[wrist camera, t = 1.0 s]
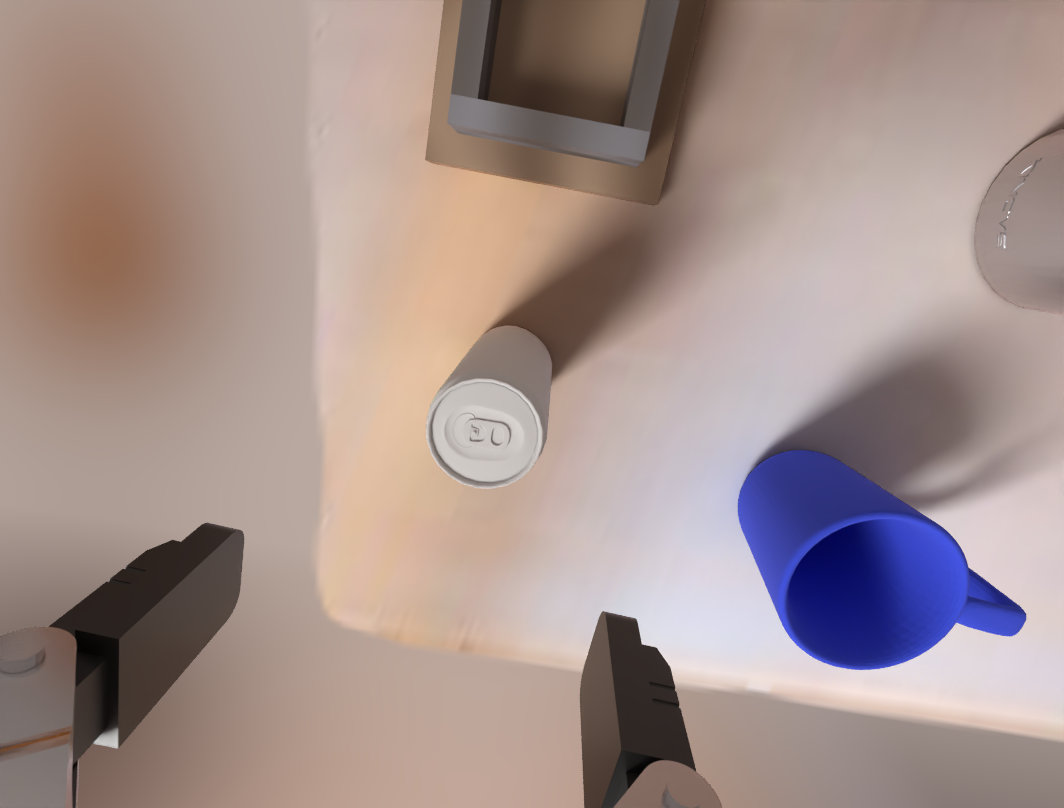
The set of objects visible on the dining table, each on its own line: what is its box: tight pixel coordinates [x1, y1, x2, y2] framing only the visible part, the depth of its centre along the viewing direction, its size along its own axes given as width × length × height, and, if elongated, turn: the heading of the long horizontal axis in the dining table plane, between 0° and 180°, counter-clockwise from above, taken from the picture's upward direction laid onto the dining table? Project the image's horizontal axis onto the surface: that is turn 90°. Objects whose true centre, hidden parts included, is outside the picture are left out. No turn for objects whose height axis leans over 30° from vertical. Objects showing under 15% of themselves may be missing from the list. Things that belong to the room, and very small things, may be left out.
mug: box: [738, 450, 1026, 670], centre depth 30 cm, size 8×12×10 cm
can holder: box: [425, 0, 706, 205], centre depth 27 cm, size 12×12×4 cm
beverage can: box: [426, 325, 552, 489], centre depth 28 cm, size 5×5×12 cm
